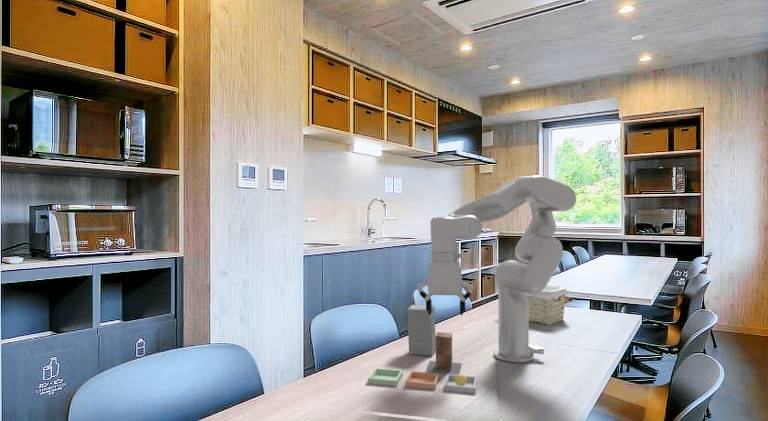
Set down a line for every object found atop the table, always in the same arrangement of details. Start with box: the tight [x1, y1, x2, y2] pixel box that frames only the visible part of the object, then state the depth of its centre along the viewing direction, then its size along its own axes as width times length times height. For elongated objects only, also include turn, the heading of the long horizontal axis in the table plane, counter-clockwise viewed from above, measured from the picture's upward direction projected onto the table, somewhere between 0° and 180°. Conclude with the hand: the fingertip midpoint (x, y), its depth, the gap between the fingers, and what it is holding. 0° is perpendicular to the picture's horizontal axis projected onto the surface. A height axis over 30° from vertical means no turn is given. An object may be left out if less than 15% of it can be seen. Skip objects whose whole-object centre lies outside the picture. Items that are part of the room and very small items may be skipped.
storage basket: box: [526, 284, 567, 325], centre depth 198 cm, size 24×16×15 cm
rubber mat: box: [424, 360, 463, 375], centre depth 135 cm, size 10×10×1 cm
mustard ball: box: [455, 373, 467, 386], centre depth 121 cm, size 3×3×3 cm
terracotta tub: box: [404, 370, 440, 390], centre depth 123 cm, size 8×8×2 cm
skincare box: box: [406, 304, 436, 357], centre depth 151 cm, size 8×7×16 cm
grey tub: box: [443, 374, 478, 395], centre depth 121 cm, size 8×8×2 cm
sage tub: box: [367, 367, 404, 387], centre depth 126 cm, size 8×8×2 cm
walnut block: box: [435, 331, 453, 371], centre depth 135 cm, size 4×4×10 cm
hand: (445, 313), depth 135 cm, fingers open, 9 cm apart
